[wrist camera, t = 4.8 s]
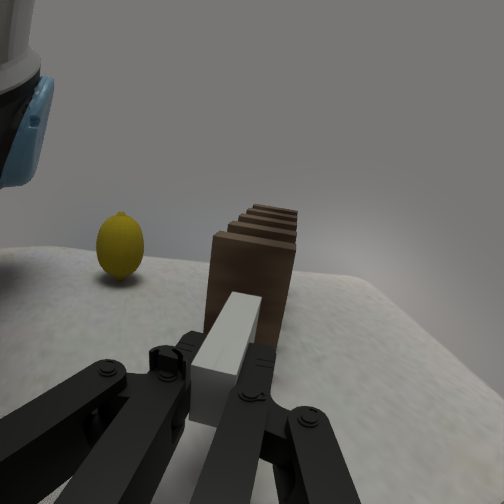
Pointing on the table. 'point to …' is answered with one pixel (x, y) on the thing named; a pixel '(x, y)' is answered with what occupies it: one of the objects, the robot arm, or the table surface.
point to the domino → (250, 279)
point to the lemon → (120, 245)
